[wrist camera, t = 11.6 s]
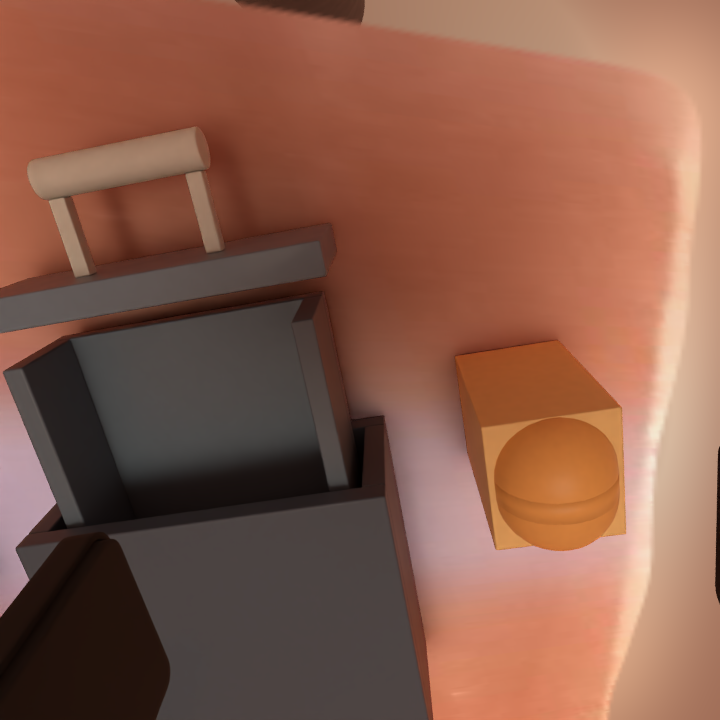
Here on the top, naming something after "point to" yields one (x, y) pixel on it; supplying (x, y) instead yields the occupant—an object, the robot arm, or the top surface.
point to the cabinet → (280, 600)
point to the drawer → (178, 358)
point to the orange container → (542, 447)
